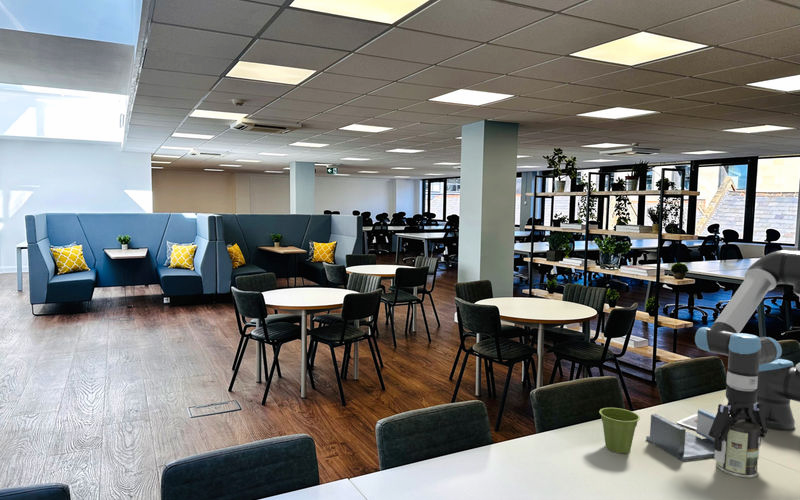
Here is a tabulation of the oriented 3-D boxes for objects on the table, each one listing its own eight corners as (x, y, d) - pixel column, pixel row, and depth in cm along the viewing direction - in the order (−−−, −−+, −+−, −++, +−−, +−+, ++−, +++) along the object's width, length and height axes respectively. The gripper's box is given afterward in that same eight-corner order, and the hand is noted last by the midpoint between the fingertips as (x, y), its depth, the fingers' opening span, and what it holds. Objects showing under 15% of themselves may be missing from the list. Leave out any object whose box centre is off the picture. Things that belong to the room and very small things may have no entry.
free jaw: (715, 431, 173) (717, 408, 173) (745, 445, 163) (746, 420, 162) (695, 433, 171) (696, 410, 170) (723, 447, 160) (725, 423, 160)
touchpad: (675, 425, 182) (675, 419, 182) (695, 416, 191) (696, 411, 191) (697, 433, 176) (698, 427, 176) (718, 424, 184) (718, 418, 184)
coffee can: (747, 462, 154) (750, 417, 153) (764, 480, 144) (767, 431, 143) (709, 458, 156) (712, 414, 155) (723, 475, 146) (727, 427, 145)
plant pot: (637, 445, 164) (639, 411, 163) (638, 460, 153) (640, 424, 153) (598, 437, 169) (600, 404, 168) (596, 452, 158) (598, 417, 158)
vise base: (711, 432, 175) (713, 406, 175) (751, 452, 161) (753, 424, 160) (646, 439, 168) (647, 412, 168) (682, 461, 154) (684, 431, 153)
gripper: (719, 394, 141) (714, 469, 143) (786, 388, 148) (780, 460, 149) (697, 385, 149) (692, 457, 150) (761, 380, 155) (756, 449, 156)
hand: (736, 459), depth 150 cm, fingers open, 12 cm apart
